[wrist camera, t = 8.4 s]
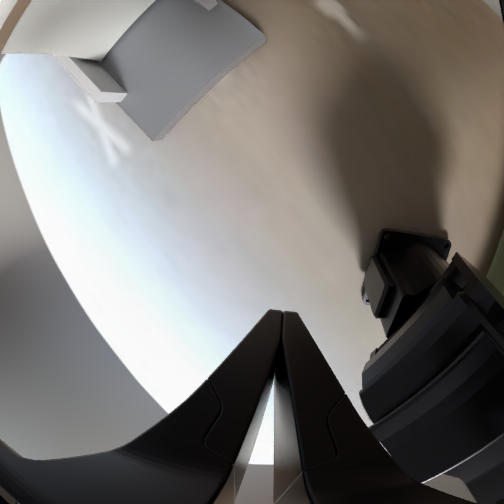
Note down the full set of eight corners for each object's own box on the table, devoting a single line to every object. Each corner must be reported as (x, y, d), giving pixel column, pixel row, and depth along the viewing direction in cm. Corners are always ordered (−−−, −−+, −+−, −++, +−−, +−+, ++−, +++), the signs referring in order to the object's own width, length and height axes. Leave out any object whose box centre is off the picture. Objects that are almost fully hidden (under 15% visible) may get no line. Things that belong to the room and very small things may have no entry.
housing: (267, 41, 14) (258, 18, 10) (162, 139, 18) (128, 146, 14) (149, -39, 10) (122, -60, 6) (72, 46, 14) (36, 42, 10)
